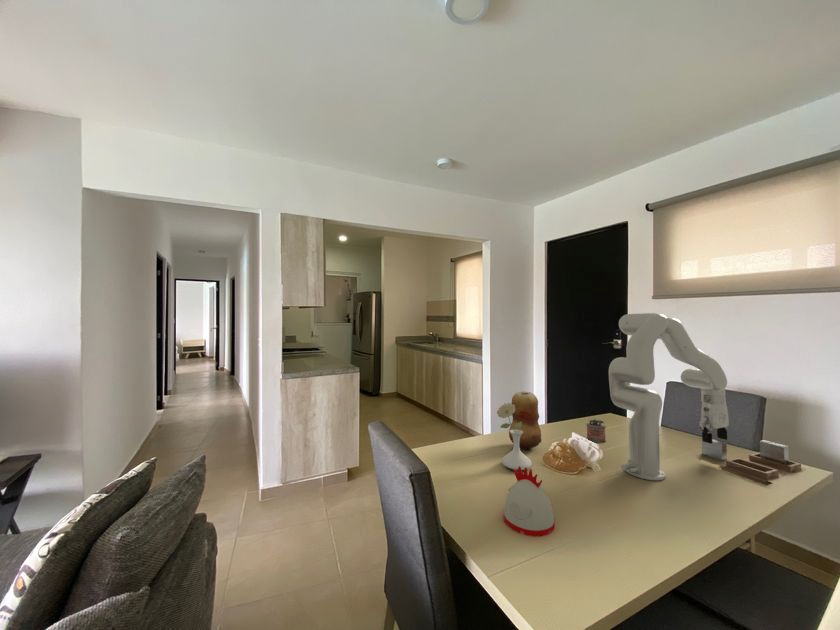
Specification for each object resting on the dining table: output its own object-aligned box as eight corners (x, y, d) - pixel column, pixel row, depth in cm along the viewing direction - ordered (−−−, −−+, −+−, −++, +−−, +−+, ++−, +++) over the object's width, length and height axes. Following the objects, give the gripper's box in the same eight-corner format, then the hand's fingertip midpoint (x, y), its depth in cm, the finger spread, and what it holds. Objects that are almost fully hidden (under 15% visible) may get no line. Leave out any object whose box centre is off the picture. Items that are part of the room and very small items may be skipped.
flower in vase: (528, 461, 135) (527, 399, 136) (535, 474, 124) (534, 406, 124) (495, 460, 137) (495, 399, 137) (499, 472, 125) (499, 406, 126)
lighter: (586, 440, 159) (586, 419, 159) (586, 438, 162) (586, 417, 162) (605, 443, 155) (605, 421, 155) (605, 440, 158) (605, 419, 158)
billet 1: (722, 464, 132) (721, 443, 132) (702, 457, 138) (701, 438, 139) (726, 463, 133) (726, 442, 133) (706, 456, 140) (706, 437, 140)
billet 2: (784, 468, 124) (784, 447, 124) (760, 461, 131) (759, 440, 131) (789, 467, 125) (788, 446, 125) (764, 460, 132) (764, 440, 132)
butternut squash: (508, 452, 145) (508, 394, 145) (509, 441, 157) (509, 388, 158) (542, 455, 141) (541, 396, 141) (540, 444, 153) (540, 390, 154)
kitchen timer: (515, 502, 105) (515, 454, 105) (561, 518, 96) (560, 466, 96) (495, 523, 94) (494, 470, 94) (544, 544, 85) (543, 485, 85)
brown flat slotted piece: (766, 485, 115) (766, 475, 115) (721, 469, 127) (721, 460, 127) (806, 473, 124) (805, 463, 124) (760, 459, 136) (760, 451, 136)
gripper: (710, 403, 130) (712, 447, 130) (737, 398, 136) (739, 440, 136) (689, 399, 137) (691, 440, 137) (715, 394, 143) (717, 434, 143)
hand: (714, 440), depth 136 cm, fingers open, 9 cm apart
